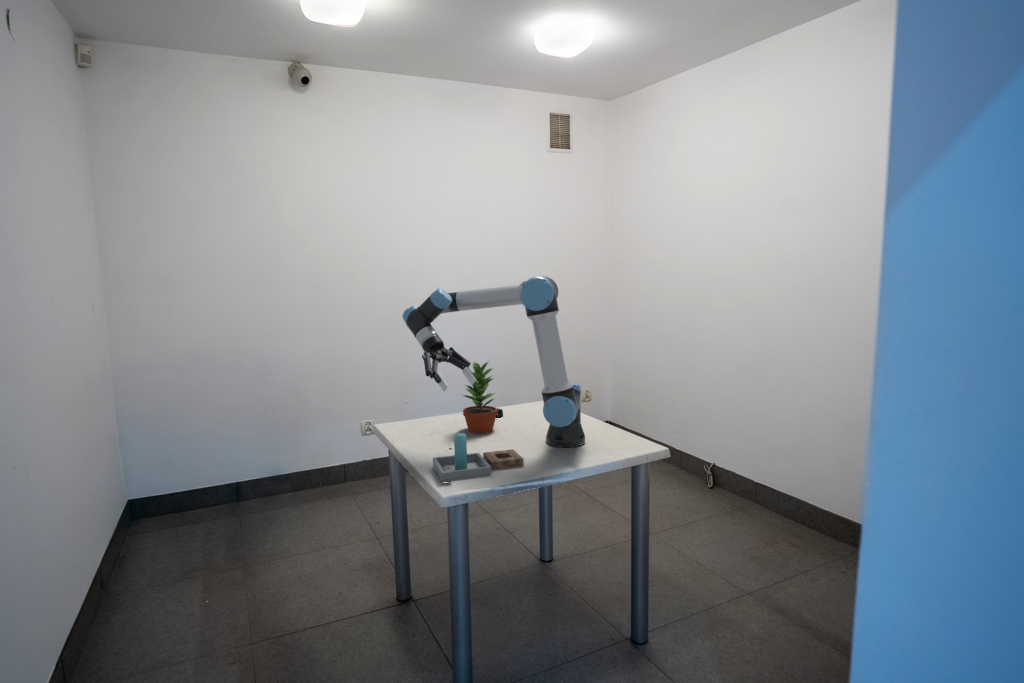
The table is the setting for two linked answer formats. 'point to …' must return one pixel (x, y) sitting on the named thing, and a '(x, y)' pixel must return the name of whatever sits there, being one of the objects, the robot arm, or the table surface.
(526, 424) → the table surface
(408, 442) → the table surface
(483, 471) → the tray
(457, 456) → the ball
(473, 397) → the potted plant
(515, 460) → the hole block
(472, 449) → the table surface
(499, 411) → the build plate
